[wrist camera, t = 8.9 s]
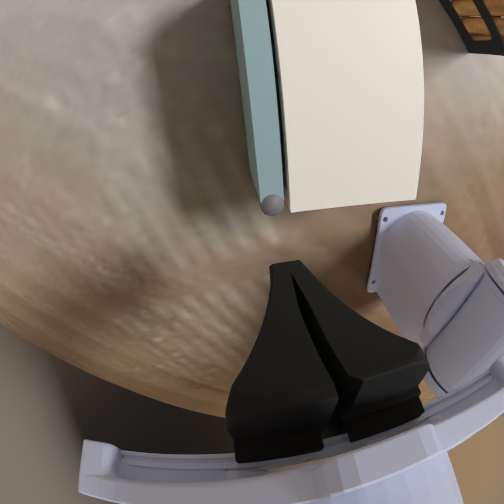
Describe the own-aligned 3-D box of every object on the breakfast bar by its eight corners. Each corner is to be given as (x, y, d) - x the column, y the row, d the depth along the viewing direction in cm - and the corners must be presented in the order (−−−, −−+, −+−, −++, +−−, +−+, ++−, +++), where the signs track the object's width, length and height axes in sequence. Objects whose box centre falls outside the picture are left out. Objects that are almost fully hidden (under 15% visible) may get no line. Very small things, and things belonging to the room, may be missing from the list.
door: (268, 179, 19) (284, 214, 14) (239, 182, 19) (246, 219, 14) (247, -18, 11) (257, -53, 6) (215, -15, 11) (213, -50, 6)
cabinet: (371, 167, 19) (415, 199, 14) (271, 175, 19) (290, 212, 14) (361, -14, 11) (407, -35, 6) (249, -23, 11) (261, -61, 6)
